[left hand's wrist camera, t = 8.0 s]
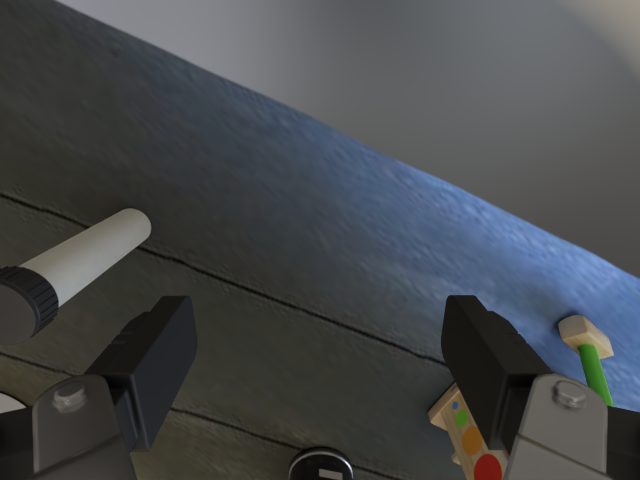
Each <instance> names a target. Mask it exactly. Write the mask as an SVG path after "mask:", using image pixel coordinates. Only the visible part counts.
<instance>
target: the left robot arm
mask: <svg viewBox="0 0 640 480" xmlns="http://www.w3.org/2000/svg"><path fill="white" fill-rule="evenodd" d="M441 348H442V354H443V357H444V359H445V361H446V364H447V366H448V368H449V370H450V372H451V374H452V376H453V378H454V380H455V382H456V384H457V386H458V388H459V390H460V392H461V394H462V396H463V398H464V401H465V403H466V405H467V407H468V409H469V411H470V413H471V415H472V417H473V419H474V421H475V423H476V425H477V427H478V429H479V431H480V433H481V435H482V438H483V440H484V442H485V444H486V446H487V448H488V450H507V452H508V454H509V456H510V457H509V461H508V464H507V467H506V470H505V474H504V477H503V480H640V413H639V412H634V411H630V410H625V409H621V408H616V407H612V406H607V405H606V403H605V402H604V400H603V399H602V398H601V396H600V395H599V394H598V393H596V392H595V391H594V390H593V389H591V388H590V387H588V386H587V385H585V384H583V383H581V382H579V381H577V380H575V379H572V378H569V377H566V376H562V375H556V374H554V373H553V372H552V371H551V370H550V368H549V367H548V366H547V365H546V364H545V363H544V362H543V360H542V359H541V358H540V357H539V356H538V355H537V353H536V352H535V351H534V350H533V349H532V348H531V347H530V345H529V344H528V343H526V341H525V340H524V338H523V337H522V336H521V335H520V334H518V332H517V330H516V329H515V328H514V327H513V326H512V325H511V323H510V322H509V321H508V320H506V319H505V318H503V317H501V316H500V315H498V314H497V313H495V312H494V311H487V310H486V308H485V307H484V306H483V305H482V303H481V302H480V301H479V300H478V298H477V297H476V296H474V295H450V296H448V298H447V301H446V306H445V314H444V321H443V328H442V335H441ZM196 350H197V335H196V328H195V321H194V314H193V306H192V301H191V298H190V297H189V296H163V297H162V298H161V299H160V300H159V301H158V303H157V304H156V305H155V306H154V307H153V309H152V310H151V311H150V312H144V313H142V314H141V315H139V316H137V317H136V318H134V319H133V320H131V321H129V323H128V324H127V325H126V326H125V327H124V328H123V329H122V331H121V332H120V335H117V336H116V337H115V339H114V340H113V341H112V344H109V345H108V347H107V348H106V349H105V350H104V351H103V352H102V353H101V355H100V356H99V357H98V358H97V359H96V360H95V361H94V363H93V364H92V365H91V366H90V367H89V368H88V370H87V371H86V372H85V373H84V374H83V375H78V376H74V377H71V378H68V379H65V380H63V381H61V382H59V383H57V384H55V385H53V386H52V387H50V388H49V389H47V390H46V391H45V392H44V393H42V394H41V395H40V396H39V398H38V399H37V400H36V402H35V403H34V405H33V406H30V407H26V408H22V409H17V410H13V411H8V412H4V413H0V480H137V477H136V474H135V470H134V467H133V464H132V461H131V457H130V452H149V450H150V448H151V446H152V444H153V442H154V440H155V438H156V436H157V433H158V431H159V429H160V427H161V425H162V423H163V421H164V419H165V417H166V415H167V413H168V411H169V409H170V407H171V405H172V403H173V401H174V399H175V397H176V395H177V393H178V391H179V389H180V387H181V385H182V383H183V381H184V379H185V377H186V375H187V373H188V371H189V369H190V366H191V364H192V362H193V360H194V358H195V355H196ZM289 480H353V471H352V465H351V463H350V461H349V460H348V458H347V457H346V456H345V455H343V454H342V453H340V452H338V451H336V450H333V449H328V448H313V449H309V450H306V451H304V452H302V453H300V454H299V455H297V456H296V457H295V458H294V459H293V461H292V462H291V465H290V469H289Z"/></svg>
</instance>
